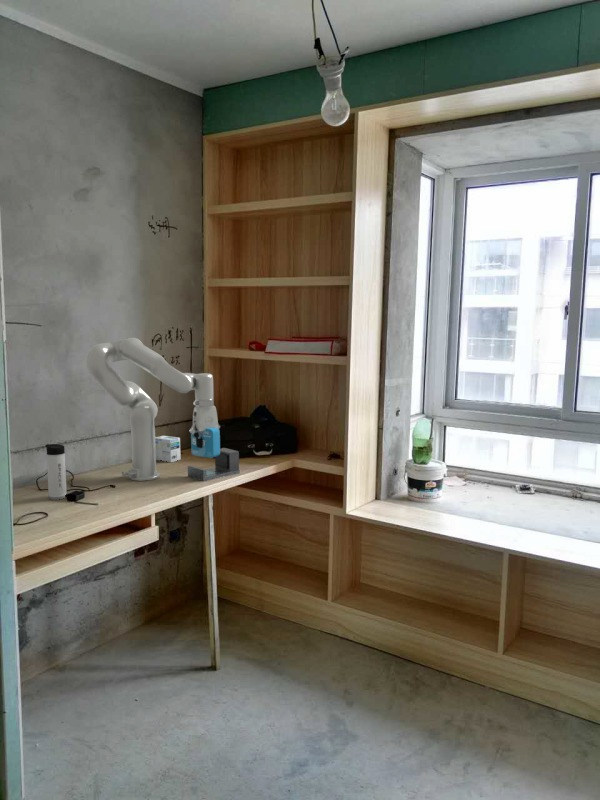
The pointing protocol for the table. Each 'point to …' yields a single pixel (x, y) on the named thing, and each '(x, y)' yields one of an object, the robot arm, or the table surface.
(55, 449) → the travel mug
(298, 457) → the table surface
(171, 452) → the light bulb box
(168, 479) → the table surface
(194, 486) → the table surface
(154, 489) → the table surface
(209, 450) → the data package
